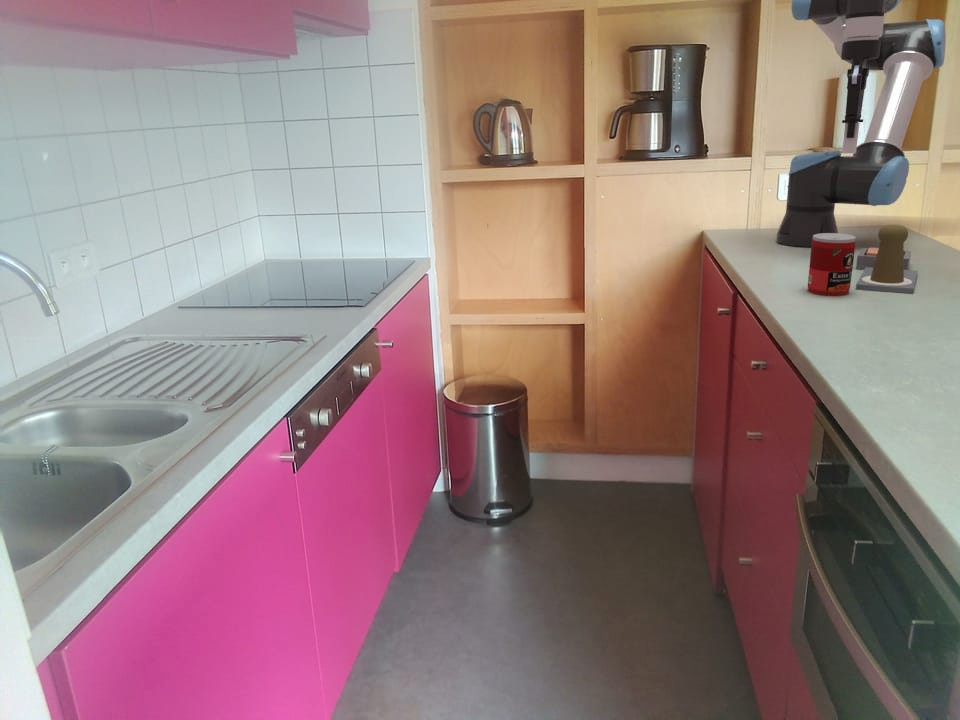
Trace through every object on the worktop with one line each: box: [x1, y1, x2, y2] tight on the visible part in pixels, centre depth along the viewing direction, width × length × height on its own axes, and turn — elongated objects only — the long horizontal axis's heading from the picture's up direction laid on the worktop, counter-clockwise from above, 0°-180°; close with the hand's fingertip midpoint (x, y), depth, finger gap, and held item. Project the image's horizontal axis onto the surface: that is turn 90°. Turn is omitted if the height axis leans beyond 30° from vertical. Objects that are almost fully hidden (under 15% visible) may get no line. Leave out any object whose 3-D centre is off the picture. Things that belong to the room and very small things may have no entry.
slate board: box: [855, 267, 919, 294], centre depth 157 cm, size 18×10×1 cm, turn 149°
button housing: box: [855, 247, 912, 271], centre depth 171 cm, size 10×10×3 cm
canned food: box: [807, 232, 857, 297], centre depth 150 cm, size 8×8×11 cm
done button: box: [866, 247, 879, 256], centre depth 171 cm, size 7×7×3 cm
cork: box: [870, 224, 909, 284], centre depth 152 cm, size 6×6×11 cm
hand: (849, 153), depth 172 cm, fingers closed
